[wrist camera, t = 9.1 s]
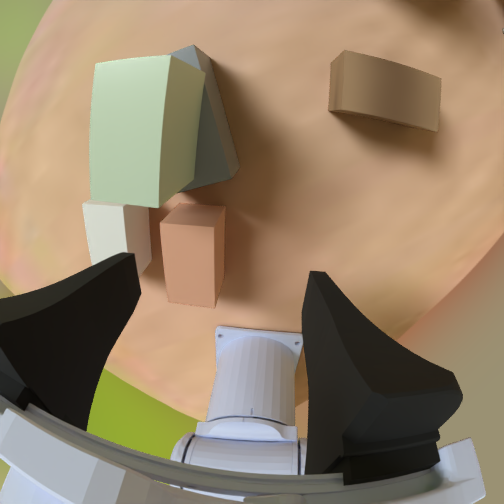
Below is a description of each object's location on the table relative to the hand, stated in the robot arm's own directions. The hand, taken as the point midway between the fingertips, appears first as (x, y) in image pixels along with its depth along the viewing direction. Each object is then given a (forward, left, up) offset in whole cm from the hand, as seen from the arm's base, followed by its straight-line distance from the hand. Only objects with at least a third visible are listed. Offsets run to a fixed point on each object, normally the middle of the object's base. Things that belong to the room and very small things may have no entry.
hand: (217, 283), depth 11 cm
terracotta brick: (-3, +3, -10) cm, 10 cm away
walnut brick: (+9, -8, -10) cm, 15 cm away
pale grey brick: (-2, +9, -10) cm, 13 cm away
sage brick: (+6, +4, -6) cm, 9 cm away
